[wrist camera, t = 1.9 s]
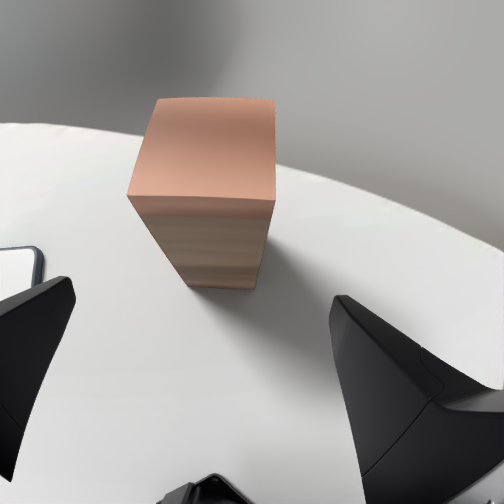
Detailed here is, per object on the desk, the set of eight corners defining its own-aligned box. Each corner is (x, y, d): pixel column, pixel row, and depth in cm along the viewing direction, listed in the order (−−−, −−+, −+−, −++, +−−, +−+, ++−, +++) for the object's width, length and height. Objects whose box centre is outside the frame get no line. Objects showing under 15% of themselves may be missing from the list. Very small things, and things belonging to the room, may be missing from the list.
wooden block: (254, 289, 21) (275, 200, 9) (187, 285, 21) (126, 195, 9) (256, 227, 23) (274, 100, 11) (194, 225, 23) (158, 99, 11)
